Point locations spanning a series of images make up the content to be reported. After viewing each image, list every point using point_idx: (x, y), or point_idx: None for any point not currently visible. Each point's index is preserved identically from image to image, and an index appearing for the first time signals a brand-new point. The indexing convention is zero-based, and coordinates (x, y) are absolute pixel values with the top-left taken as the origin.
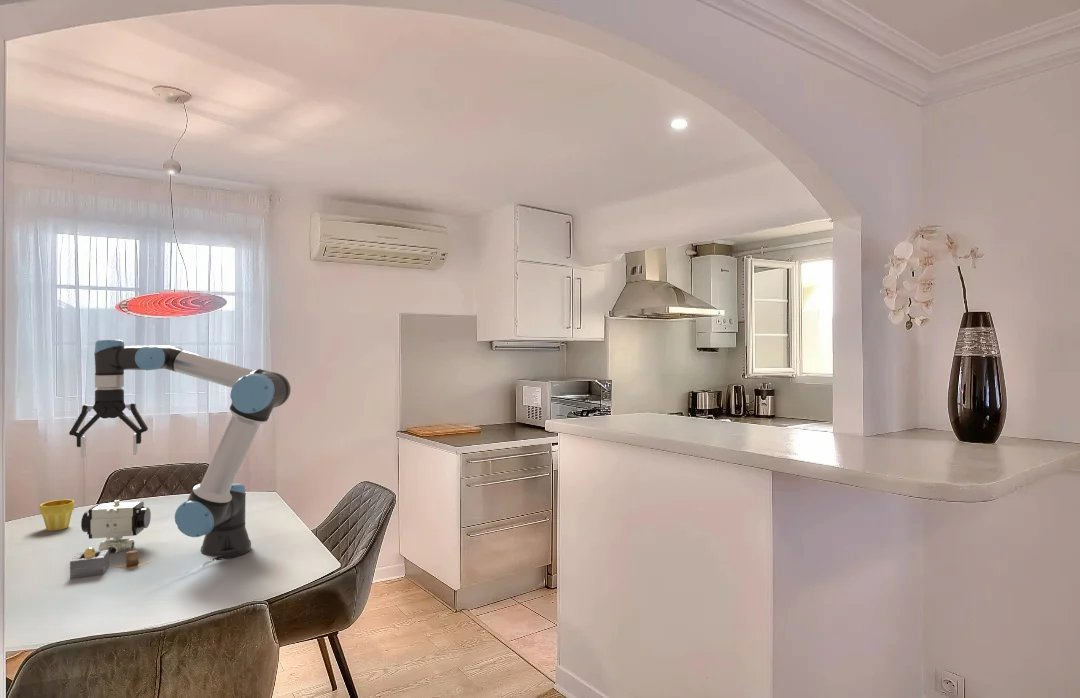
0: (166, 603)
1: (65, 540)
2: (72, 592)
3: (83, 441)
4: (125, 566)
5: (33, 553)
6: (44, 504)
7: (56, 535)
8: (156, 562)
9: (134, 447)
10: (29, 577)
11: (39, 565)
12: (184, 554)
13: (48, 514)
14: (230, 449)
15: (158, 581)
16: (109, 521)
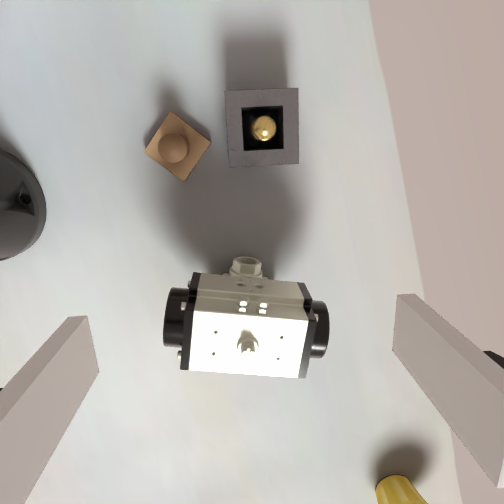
0: None
1: (363, 407)
2: (269, 23)
3: (480, 371)
4: (189, 140)
5: None
6: None
7: (385, 444)
8: (138, 183)
9: (50, 348)
10: (379, 180)
11: (377, 257)
12: (88, 222)
13: (422, 502)
14: None
15: (90, 21)
16: (255, 290)
